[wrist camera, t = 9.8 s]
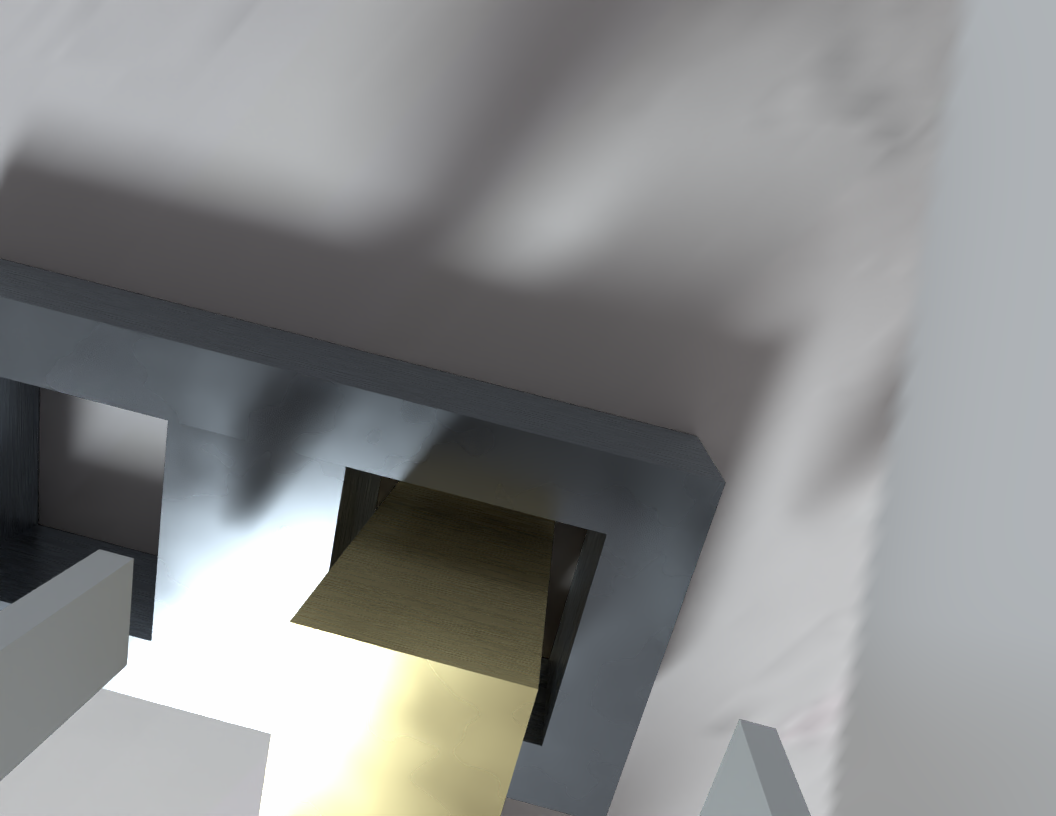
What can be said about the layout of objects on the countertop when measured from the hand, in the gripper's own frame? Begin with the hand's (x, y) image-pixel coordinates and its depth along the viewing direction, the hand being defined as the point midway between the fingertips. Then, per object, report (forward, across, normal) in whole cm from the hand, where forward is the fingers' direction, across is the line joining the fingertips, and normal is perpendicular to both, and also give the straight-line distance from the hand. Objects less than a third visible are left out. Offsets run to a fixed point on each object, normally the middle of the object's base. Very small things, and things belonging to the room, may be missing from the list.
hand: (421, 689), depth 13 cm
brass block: (+6, 0, 0) cm, 6 cm away
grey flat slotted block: (+6, -6, 0) cm, 8 cm away
